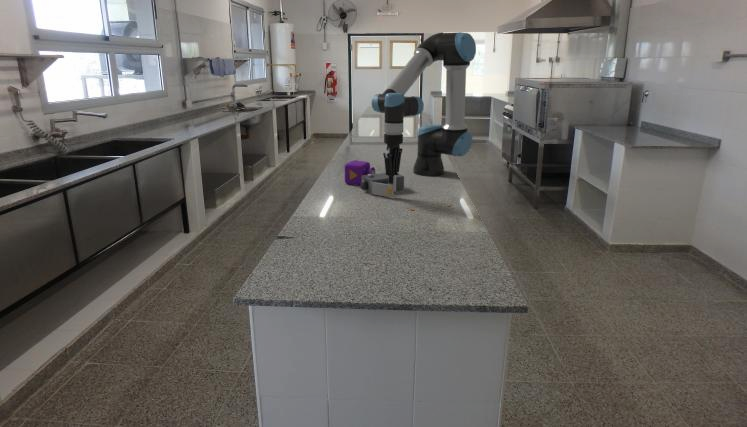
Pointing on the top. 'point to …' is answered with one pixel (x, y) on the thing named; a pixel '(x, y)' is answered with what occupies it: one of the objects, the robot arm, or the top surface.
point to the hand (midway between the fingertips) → (392, 190)
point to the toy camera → (357, 171)
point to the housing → (380, 181)
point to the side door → (382, 189)
